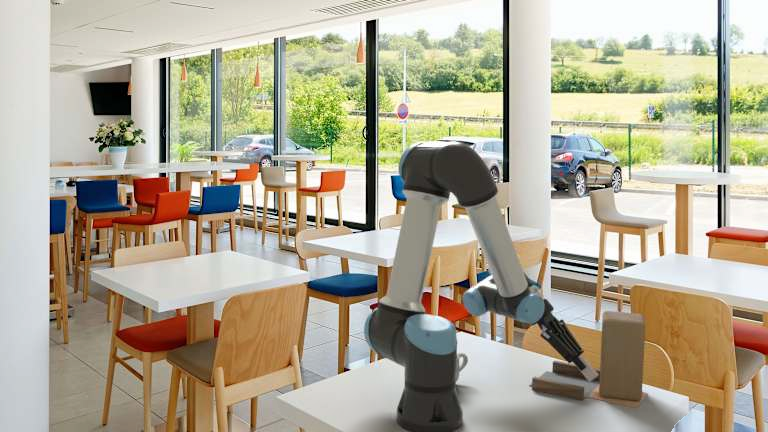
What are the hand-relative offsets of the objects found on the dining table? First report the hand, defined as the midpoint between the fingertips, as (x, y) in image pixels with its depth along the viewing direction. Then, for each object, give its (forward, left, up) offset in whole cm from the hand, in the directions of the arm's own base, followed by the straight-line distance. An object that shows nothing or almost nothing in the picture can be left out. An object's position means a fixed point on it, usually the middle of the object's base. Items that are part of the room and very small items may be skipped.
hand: (594, 378), depth 171 cm
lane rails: (0, +7, -3) cm, 7 cm away
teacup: (-18, +34, -3) cm, 39 cm away
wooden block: (+1, -6, -3) cm, 7 cm away
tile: (0, -6, -3) cm, 7 cm away
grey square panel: (0, +7, -3) cm, 8 cm away
